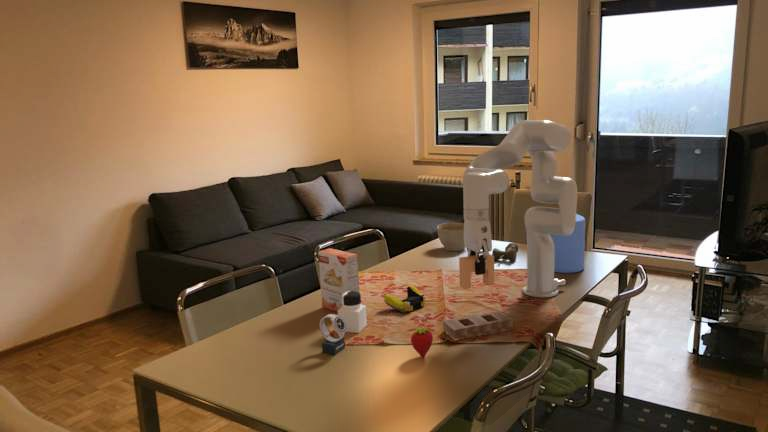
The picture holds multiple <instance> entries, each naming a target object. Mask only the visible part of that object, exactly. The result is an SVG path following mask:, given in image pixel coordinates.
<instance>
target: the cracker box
mask: <svg viewBox="0 0 768 432" xmlns="http://www.w3.org/2000/svg"><path fill="white" fill-rule="evenodd" d="M317 253H318V266H319V278H320V280H319V281H320V292H321V294H320V295H321V307H322V308H323V309H326V310H327V309H328V310H330V311H333V312H336V313H338V310H339V309H340V308H341V307H342V294H343V293H345V292H348V291H356V292H359V293H360V281H359V278H360V277H359V262H358V258H359V257H358V254H357V253H353V252H347V251H343V250H339V249H335V248H331V247H329V248H326V249H322V250H319V251H318V252H317Z"/></svg>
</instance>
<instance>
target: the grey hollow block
mask: <svg viewBox="0 0 768 432" xmlns="http://www.w3.org/2000/svg"><path fill="white" fill-rule="evenodd" d="M442 325H443V327H442V329H443V330H442V332H443V331H445V332H447V333H448V334H449V335H450V336H451V337H453V338H454V339H462V338H468V339H470V338H469V337H473V338H476V337H475V336H478V337H482V336H481V335H484V336H488V334H489V335H493V333H494V334H498V332H499V333H503V332H508V331H513V330H514V319H513V318H512V317H510V316H509V315H507V314H505V313H504V312H502V311H501V310H497V311H492V312H486V313H480V314H475V315H470V316H464V317H459V318H453V319H447V320H443V321H442Z"/></svg>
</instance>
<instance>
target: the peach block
mask: <svg viewBox="0 0 768 432" xmlns="http://www.w3.org/2000/svg"><path fill="white" fill-rule="evenodd" d="M480 255H482V254H479V257H480ZM458 259H459V260H458V261H459V263H458V264H459V265H458V266H459V287H461V288H462V289H463V290H469V289H471V288H472V279H471V278H472V276H471V274H472V273H475V262H476V255H474V256H468V255H467V256H461V257H458ZM482 283H484V284H485V285H487V286H493V285H495V261H494V256H493V255H492V253H491V254H490V253H489V256H488V257H487V258H486V262H485V274H482Z"/></svg>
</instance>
